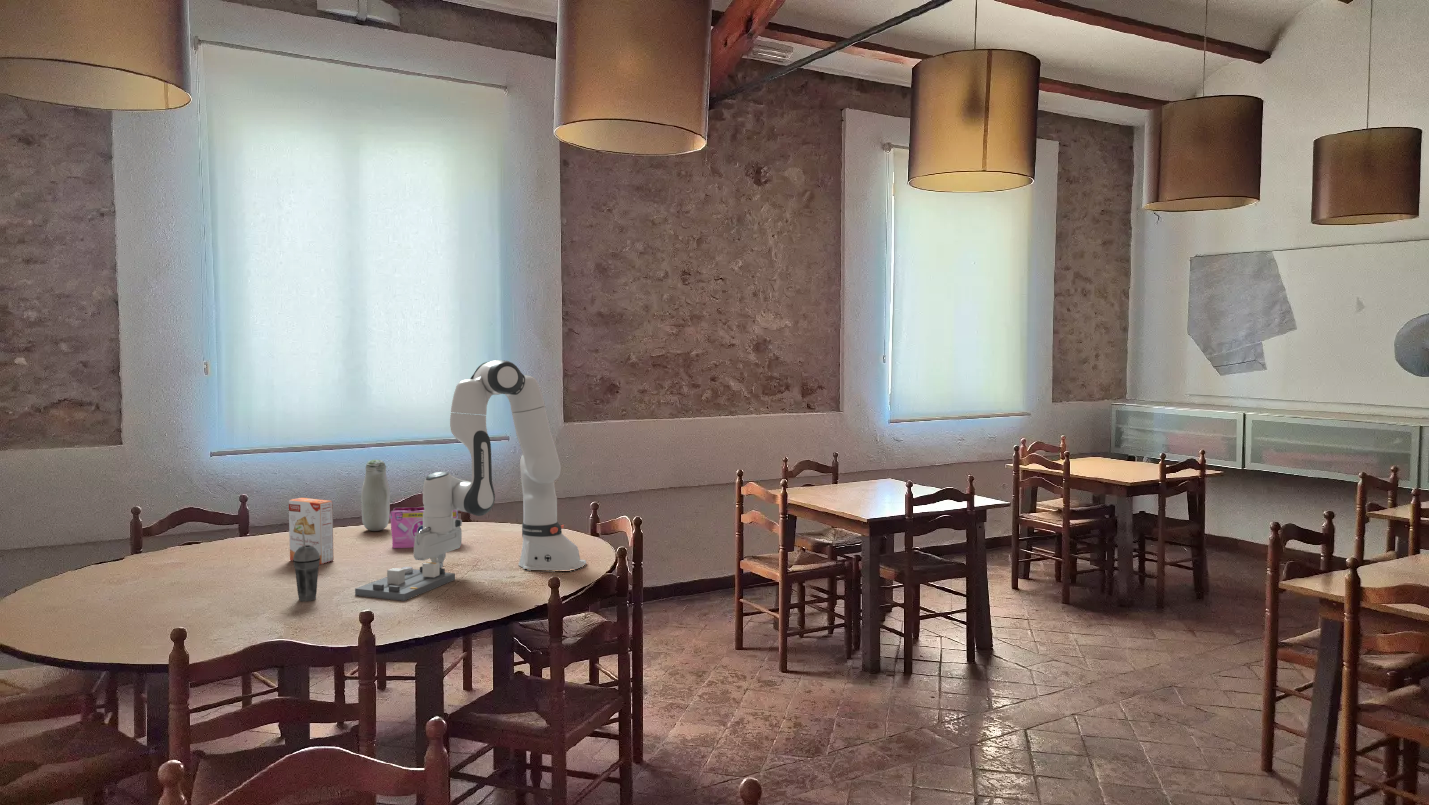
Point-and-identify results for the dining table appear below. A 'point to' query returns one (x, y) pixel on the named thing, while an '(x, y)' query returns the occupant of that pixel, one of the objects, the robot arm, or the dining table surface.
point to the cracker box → (311, 526)
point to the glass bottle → (375, 496)
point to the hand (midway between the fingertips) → (438, 568)
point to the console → (403, 584)
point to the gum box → (407, 525)
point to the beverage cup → (306, 571)
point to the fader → (430, 569)
